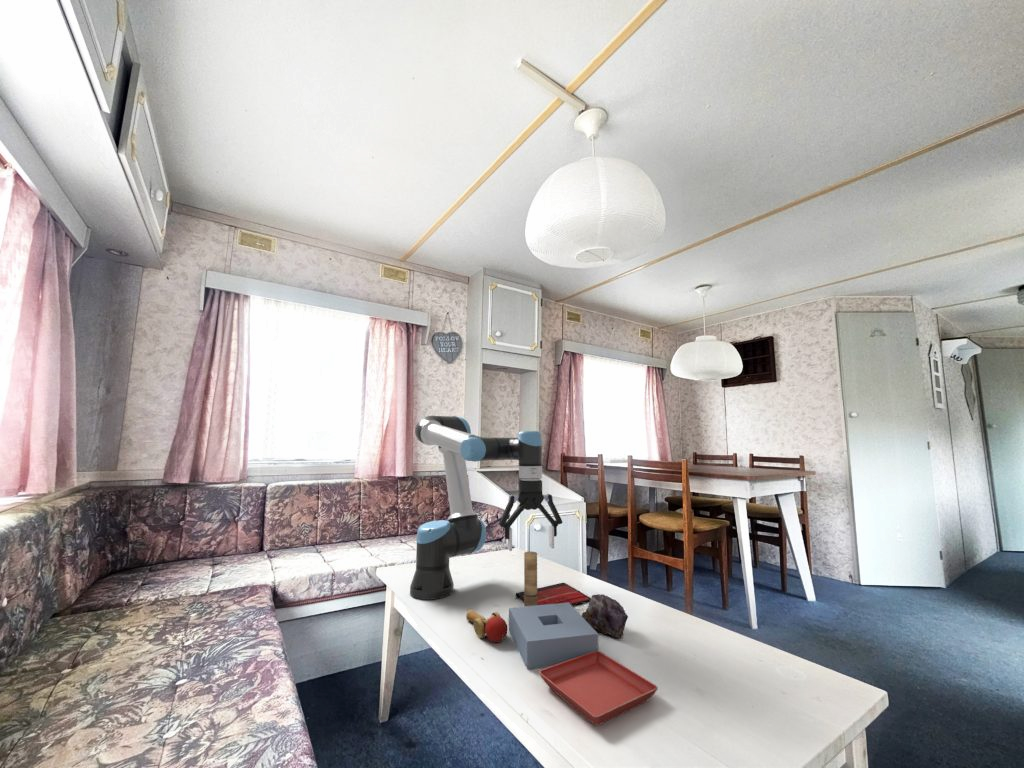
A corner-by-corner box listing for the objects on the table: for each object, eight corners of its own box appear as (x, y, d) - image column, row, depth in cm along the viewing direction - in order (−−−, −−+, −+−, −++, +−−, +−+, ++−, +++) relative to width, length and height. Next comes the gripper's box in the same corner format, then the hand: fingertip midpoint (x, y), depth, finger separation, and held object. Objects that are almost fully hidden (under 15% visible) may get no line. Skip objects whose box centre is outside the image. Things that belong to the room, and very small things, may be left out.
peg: (522, 612, 126) (522, 551, 129) (535, 611, 127) (535, 551, 130) (526, 618, 122) (525, 555, 125) (539, 616, 123) (539, 554, 126)
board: (508, 630, 114) (508, 607, 115) (569, 624, 118) (568, 602, 119) (527, 669, 95) (527, 641, 96) (598, 660, 99) (598, 633, 100)
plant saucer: (597, 663, 98) (597, 648, 99) (660, 703, 83) (659, 686, 84) (537, 687, 88) (537, 670, 89) (596, 738, 73) (595, 717, 74)
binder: (515, 592, 138) (563, 581, 149) (515, 599, 138) (563, 588, 149) (543, 610, 125) (594, 597, 136) (543, 619, 124) (593, 605, 135)
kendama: (456, 629, 118) (487, 645, 103) (459, 605, 120) (490, 617, 106) (479, 628, 122) (513, 643, 107) (482, 604, 124) (514, 616, 109)
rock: (614, 648, 107) (632, 634, 114) (618, 615, 107) (635, 603, 115) (577, 627, 115) (595, 615, 122) (580, 597, 115) (598, 586, 123)
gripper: (494, 481, 124) (494, 554, 121) (571, 479, 130) (572, 549, 126) (490, 479, 131) (489, 548, 128) (563, 477, 137) (564, 543, 134)
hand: (531, 548), depth 127 cm, fingers open, 13 cm apart
